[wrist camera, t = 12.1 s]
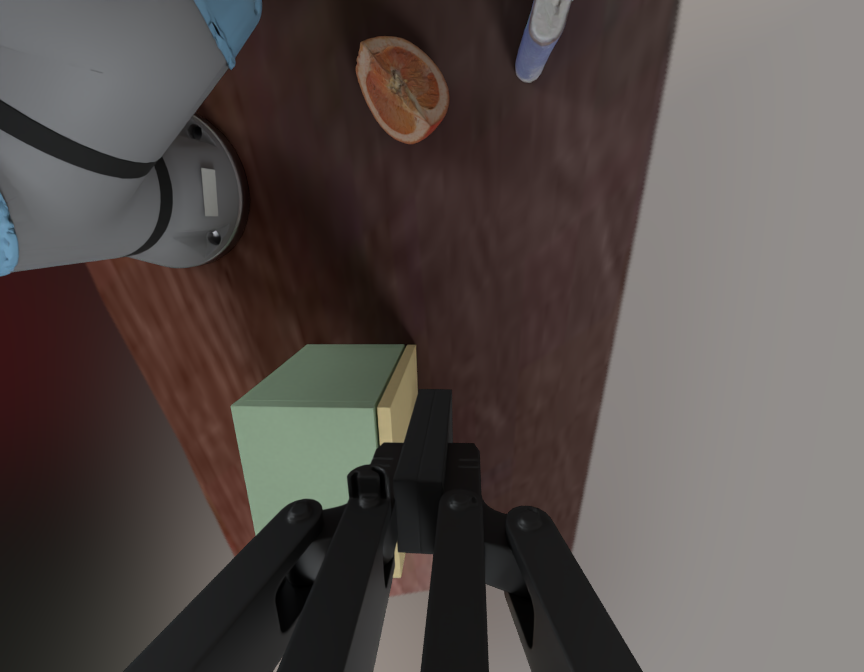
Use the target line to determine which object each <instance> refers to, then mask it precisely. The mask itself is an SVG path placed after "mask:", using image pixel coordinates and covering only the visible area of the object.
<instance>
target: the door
mask: <svg viewBox="0 0 864 672" xmlns="http://www.w3.org/2000/svg"><path fill="white" fill-rule="evenodd" d="M417 395H418V384H417V358H416V345H407V346H406V348H405V350H404V352H403V354H402V356H401V358H400V360H399V363H398V365H397V367H396V369H395V371H394V373H393V375H392V377H391V379H390V381H389V384H388V386H387V388H386V390H385V392H384V394H383V396H382V398H381V400H380V402H379V404H378V407H377V414H378V428H379V442H380V445H382V444H383V443H384V442H395V443H404V440H405V436H406V433H407V429H408V426H409V422H410V419H411V416H412V412H413V409H414V405H415V402H416V398H417ZM394 554H395V569H394V574H393V578H401V574H402V569H403V563H404V558H405V553H400V552H398V549H397V543H396V548H395V552H394Z"/></svg>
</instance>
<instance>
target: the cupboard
mask: <svg viewBox="0 0 864 672" xmlns="http://www.w3.org/2000/svg"><path fill="white" fill-rule="evenodd" d="M404 350H405V345H404V344H307V345H306V346H305V347H303V348H302V349H301V350H300V351H298V352H297V353H296V354H295V355H294V356H292V357H291V358H290V359H289V360H287V361H286V362H285V363H284V364H282V365H281V366H280V367H279V368H277V369H276V370H275V371H274V372H273V373H271V374H270V375H269V376H268V377H266V378H265V379H264V380H263V381H261V382H260V383H259V384H258V385H256V386H255V387H254V388H253V389H251V390H250V391H249V392H248V393H247V394H245V395H244V396H243V397H242V398H240V399H239V400H238V401H236V402H235V403H234V404H233V405H231V411H232V416H233V421H234V426H235V431H236V437H237V442H238V447H239V452H240V457H241V462H242V467H243V473H244V478H245V483H246V488H247V493H248V498H249V503H250V509H251V514H252V519H253V524H254V529H255V534H256V535H257V534H258V533H259V532H260V531H261V530H262V529H263V528H264V527H265V526H266V525H267V524H268V523H269V522H270V521H271V520H272V519H273V518H274V517H275V516H276V515H277V514H278V512H279V511H280V510H281V509H283V508H284V507H285V506H286V505H288V504H289V503H292V502H294V501H296V500H301V499H314V500H316V501H318V502H319V503H320V504H321V505H322V509H323V510H324V509H329V508H334V507H338V506H341V505H344V504H346V503H347V502H348V500H349V493H348V484H347V475H348V474H349V473H350V471H352V470H353V469H355V468H356V467H359V466H362V465H367V464H370V463H371V461H372V460H373V456H374V453H375V451H376V449H377V448H378V447H379V446H380V442H379V428H378V414H377V407H378V404H379V402H380V400H381V398H382V396H383V394H384V392H385V390H386V388H387V386H388V384H389V381H390V379H391V377H392V375H393V373H394V371H395V369H396V367H397V365H398V363H399V360H400V358H401V356H402V354H403V352H404Z"/></svg>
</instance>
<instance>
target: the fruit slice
mask: <svg viewBox="0 0 864 672" xmlns="http://www.w3.org/2000/svg"><path fill="white" fill-rule="evenodd" d="M357 62H358V63H357V65H356V74H357V78H358V82H359V84H360V87H361V90H362V93H363V95H364V98H365V100H366V102H367V104H368V106H369V108H370V110H371V112H372V114H373V116H374V117H375V119H376V120H377V122H378V123H379V124H380V126H381V127H382V128H383V129H384V130H385V131H386V132H387V134H389V135H390V136H391V137H392V138H394V139H396V140H398V141H400V142H403V143H406V144H415V143H418V142H420V141H421V140H423V139H424V138H426V137H427V136H429V135H430V134H431V133H432V132H433V131H434V130H435V129H436V127H437V126H438V125H439V124H440V122H441V121H442V120H443V119H444V117H445V115H446V112H447V110H448V106H449V90H448V87H447V84H446V81H445V79H444V77H443V75H442V73H441V71H440V70H439V68H438V67H437V66H436V64H435V63H434V62H433V61H432V60H431V59H430V58H429V57H428V56H427V55H426V54H425V53H424V52H423V51H422V50H420V49H419V48H418V47H417V46H415V45H414V44H412V43H411V42H409V41H407V40H405V39H402V38H398V37H392V36H389V37H388V36H379V37H375V38H370V39H367V40H365V41H362V42H361V43H360V50H359V56H357Z"/></svg>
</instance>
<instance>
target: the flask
mask: <svg viewBox="0 0 864 672" xmlns="http://www.w3.org/2000/svg"><path fill="white" fill-rule="evenodd" d="M572 1H573V0H534V1H533V5H532V10H531V13H530V16H529V19H528V22H527V25H526V27H525V30H524V34H523V37H522V41H521V44H520V47H519V50H518V54H517V59H516V63H515V70H516V75H517V76H518V78H519V79H520V80H522V81H523V82H527V83H531V82H533V81H535V80H536V79H537V78H538V77H539V75H540V74H541V73H542V70H543V68H544V65H545V63H546V61H547V60H548V57H549V55H550V53H551V51H552V50H553V48H554V46H555V44H556V42H557V41H558V39H559V37H560V36H561V34H562V32H563V30H564V28H565V25H566V21H567V17H568V12H569V9H570V6H571V2H572Z"/></svg>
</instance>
